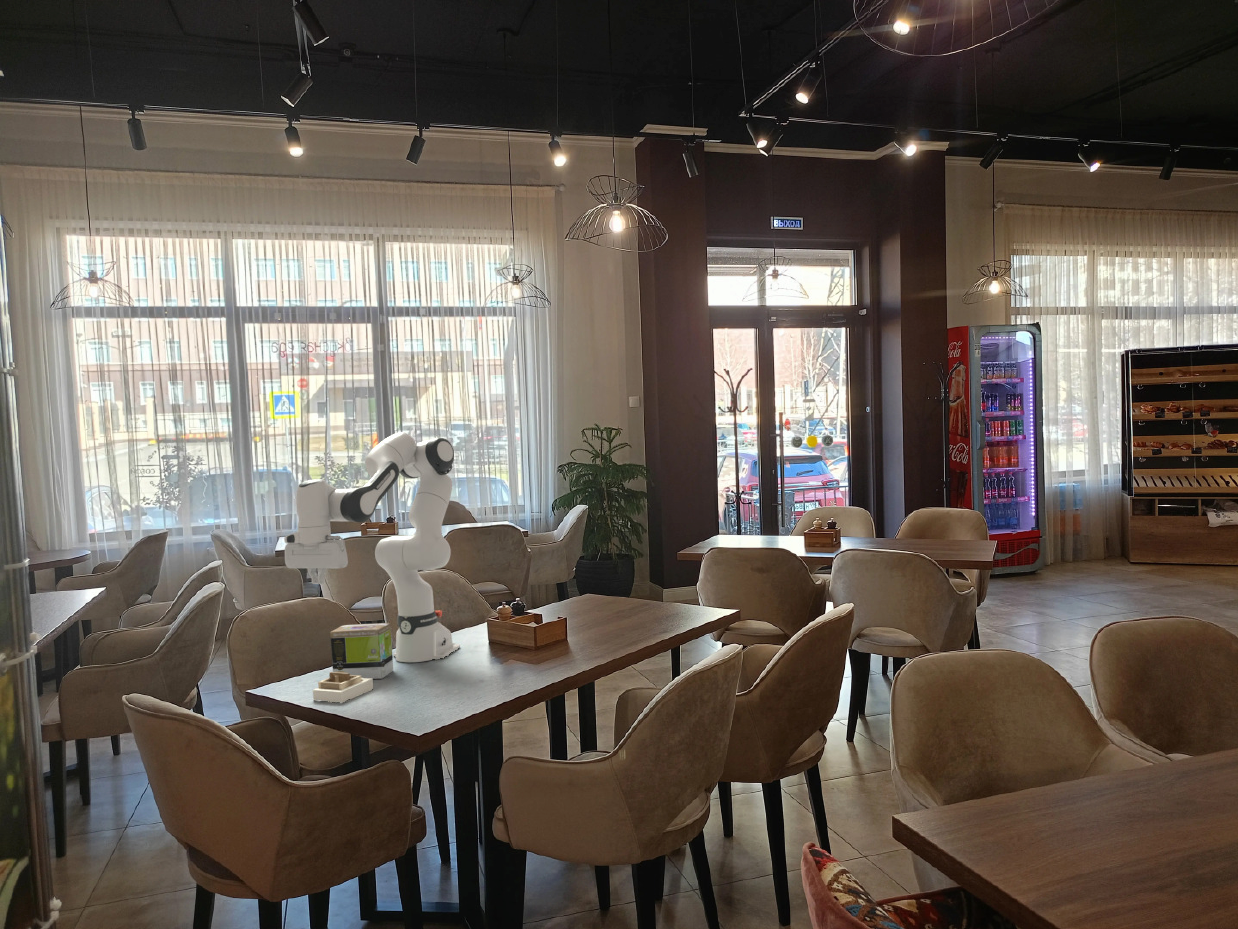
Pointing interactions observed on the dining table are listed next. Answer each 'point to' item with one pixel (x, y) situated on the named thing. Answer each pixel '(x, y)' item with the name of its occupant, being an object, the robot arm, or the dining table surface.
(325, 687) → the caddy
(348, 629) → the tea box
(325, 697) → the bay
